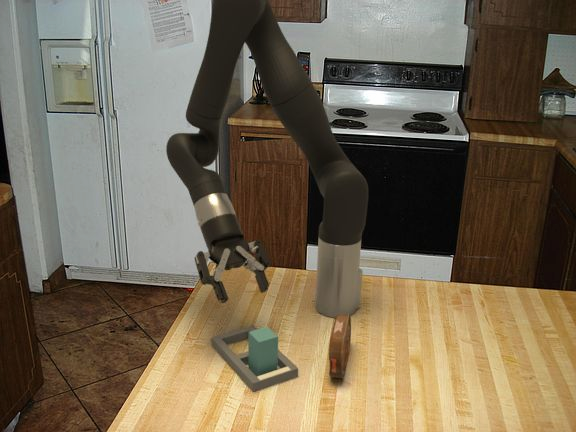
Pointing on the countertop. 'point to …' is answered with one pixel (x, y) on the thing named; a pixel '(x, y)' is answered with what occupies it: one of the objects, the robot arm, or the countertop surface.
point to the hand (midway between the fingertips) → (245, 296)
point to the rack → (241, 361)
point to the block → (262, 351)
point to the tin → (340, 346)
